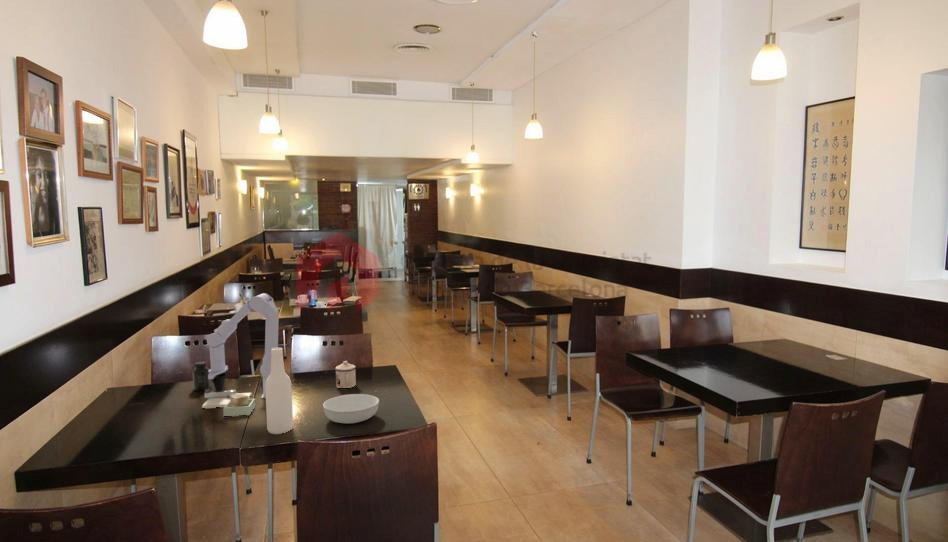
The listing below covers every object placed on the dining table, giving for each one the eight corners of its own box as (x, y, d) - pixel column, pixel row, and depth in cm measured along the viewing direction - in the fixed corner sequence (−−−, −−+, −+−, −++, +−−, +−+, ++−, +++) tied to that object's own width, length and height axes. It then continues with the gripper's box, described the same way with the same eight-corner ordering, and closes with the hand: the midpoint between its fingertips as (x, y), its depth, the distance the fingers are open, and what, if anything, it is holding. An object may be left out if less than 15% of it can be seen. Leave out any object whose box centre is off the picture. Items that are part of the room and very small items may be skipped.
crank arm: (237, 394, 236) (237, 386, 236) (235, 396, 233) (234, 389, 232) (206, 396, 234) (206, 388, 234) (204, 398, 231) (203, 391, 230)
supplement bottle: (213, 386, 252) (212, 361, 251) (204, 391, 245) (203, 364, 244) (199, 386, 253) (197, 360, 252) (190, 391, 246) (188, 364, 245)
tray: (255, 406, 224) (254, 398, 224) (250, 415, 215) (249, 406, 215) (230, 408, 223) (229, 400, 222) (223, 417, 213) (223, 408, 213)
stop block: (243, 407, 223) (242, 392, 222) (248, 410, 219) (248, 395, 218) (231, 410, 219) (230, 395, 218) (235, 413, 216) (235, 398, 215)
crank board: (251, 395, 239) (251, 391, 239) (244, 406, 226) (243, 402, 226) (212, 397, 237) (211, 394, 237) (202, 408, 223) (201, 405, 223)
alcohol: (287, 423, 206) (283, 344, 203) (297, 430, 199) (293, 348, 196) (263, 429, 200) (259, 348, 197) (273, 436, 193) (269, 352, 191)
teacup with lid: (334, 384, 254) (334, 359, 252) (355, 382, 256) (354, 358, 255) (337, 392, 242) (336, 366, 241) (358, 390, 245) (357, 364, 244)
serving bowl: (390, 415, 214) (390, 398, 213) (353, 434, 196) (352, 415, 195) (350, 406, 224) (350, 390, 223) (311, 423, 206) (310, 405, 206)
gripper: (216, 355, 245) (217, 385, 246) (200, 364, 230) (201, 396, 232) (232, 355, 245) (233, 385, 246) (217, 364, 230) (218, 396, 232)
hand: (219, 390), depth 239 cm, fingers closed
